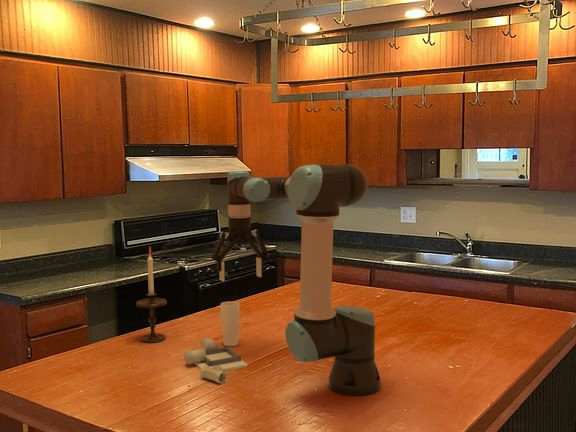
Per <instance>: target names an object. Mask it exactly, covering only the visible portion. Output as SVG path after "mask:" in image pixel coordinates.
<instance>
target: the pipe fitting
mask: <svg viewBox="0 0 576 432" xmlns="http://www.w3.org/2000/svg"><path fill="white" fill-rule="evenodd" d="M199 370H200V371H199V377H200V378H203V379H205V380H209V381H212V382H215V383H218V384H221V385H222V384H225V382H227V373H226V371H223V370H222V367H221V366H218V365H217V366H214V367H213V368H212V369H211V368H209V367H207V366H204V367H203V368H202V369H199Z"/></svg>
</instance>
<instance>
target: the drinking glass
mask: <svg viewBox="0 0 576 432" xmlns="http://www.w3.org/2000/svg"><path fill="white" fill-rule="evenodd" d="M240 318H241V310H240V302H238V301H223V302H221V303H220V321H221V328H222V339H223V341H222V343H223V345H224V347H227V346H228V347H236V346H238V344H239V336H240V334H239V333H240V332H239V331H240V320H241V319H240Z"/></svg>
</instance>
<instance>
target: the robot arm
mask: <svg viewBox="0 0 576 432" xmlns="http://www.w3.org/2000/svg"><path fill="white" fill-rule="evenodd" d="M250 174H251V173H249V171H247V170H241V171H240V170H238V171H233V170H232V171H229V172H228V173H227V182H226V185H227V208H228V209H227V213H228V219H227V220H228V221H227V222H228V231H227V232H224V231H220V232H219V238H218V240H217V243H216V245H215V247H214V249H213V251H212V255H211V256H210V259H211V260H213V261H214V262H216V271H218V272H219V281H221V282H225V281H226V280H225V261H223V260H224V258H225V257H226V256H227V254H228V253H229V252H230V250H231V249H232V248H233V247H234V246H235V245H245V244H247V245H248V247H249V248H250V249H251V250H253V252H254V253H255V255H257V257H256V258H255V262H256V263H255V265H256V266H255V267H256V271H255V272H256V274H255V275H256V277H258V278H262V275H263V274H262V268H264V266H265V264H264V263H265V262H264V259H265V257H267V256H269V254H270V253H269V251H268V249H267V246H266V245H265V243H264V241H263V239H262V238H261V234H260V233H261V232H260V230H258V229H254V230H251V229H252V228H251V227H252V225H251V224H252V223H251V222H252V221H251V217H250V216H251V202H254V203H256V202H258V203H259V202H264V201H273V200H274V201H275V200H277V201H278V200H289V201H288V202H289V205H290V207H292V208H293V209H294V210H296V213H295V214H296V216H297V218H298V219H299V220H300V221H301V237H300V238H301V239H300V243H301V244H300V245H301V246H300V279H299V280H300V284H299V285H300V286H299V287H300V288H299V306H298V307H297V308H295V310H294V311H293V313H294V314H293V315H294V316H293V320H290V321H289V322H288V323H287V324H286V326H285V330H284V331H285V332H284V334H285V335H284V336H285V341H286V345H287V347H288V349H289V351H290V353H291V355H292V357H293V358H295V359H296V360H297V361H298V362H300V363H311V362H318V361H320V360H321V361H322V360H326V359H329V358H334V360H333V362H332V365H331V366H332V367H331V369H330V373H329V376H328V388H330V390H332V391H333V392H335V393H338V394H341V395H347V396H365V395H370V394H374V393H376V392H378V391H379V390H380V389H381V387H382V386H381V383H382V382H381V381H382V379H381V377H380V373H379V370H378V367H377V364H376V359H375V348H376V347H375V344H376V343H375V342H376V341H375V338H376V337H375V334H376V333H375V331H376V324H375V321H376V320H375V314H374V312H372V310H370V309H368V308H365V307H361V306H353V305H337V306H335V307H334V308H333V307H332V287H333V286H332V284H333V283H332V282H333V281H332V279H333V278H332V277H333V254H334V253H333V249H334V247H333V246H334V222H335V221H336V220H337V219H338V218H339V217H340V208H343V207H350V206H353V205H355V204H358V203H360V201H361V200H362V199H364V197H365V196H366V194H367V192H368V186H369V185H368V184H369V183H368V179H367V176H366V175H365V173H364V172H363V170H362V169H360V168H359V167H357V166H356V165H352V164H346V163H341V164H315V163H314V164H307V165H301V166H299V167H297V168H296V169H295V170H294V172H293V173H291V174H292V175H290V176H275V177H274V176H269V177H267V176H265V177H262V176H261V177H251V176H250ZM252 236H253V237H254V238H255V241H256V243H257V244H258V247H259V248H258V247H257V246H256V244H254V242H253V241H252V239H251V237H252ZM227 238H229V239H228V241H227V242H226V245H225V246H224V247H223V245H224V243H225V241H226V239H227ZM222 247H223V249H222Z"/></svg>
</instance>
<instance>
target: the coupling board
mask: <svg viewBox="0 0 576 432" xmlns="http://www.w3.org/2000/svg"><path fill="white" fill-rule="evenodd" d="M200 346H201V347H202V348H201V349H199V348H198V349H195V350H188V351H184V354H183V355H184V361H185V364H186V365H191V364H192V365H193V364H194V365H195V366H196V367H197V368H199V370H201V369H202V368H203V367H204V366H207V367H209V368H211V369H212V368H213V367H214V366H217V365H218V366H221V367H222V370H223V372H226V371H232V370H238V369H242V368H248V363H246V362H245V361H243V359H242V356H241V355H239V354H238V353H237V352H236V351H234V350H233V349H232V348H230V346H222V347H219V345H218V343H217V342H215V340H213V339H212V338H211V337H209V336H205V337H203V338H202V339H201V340H200Z"/></svg>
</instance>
